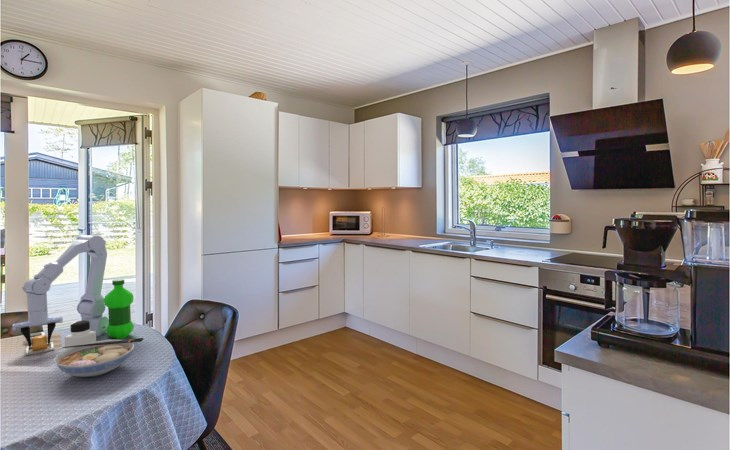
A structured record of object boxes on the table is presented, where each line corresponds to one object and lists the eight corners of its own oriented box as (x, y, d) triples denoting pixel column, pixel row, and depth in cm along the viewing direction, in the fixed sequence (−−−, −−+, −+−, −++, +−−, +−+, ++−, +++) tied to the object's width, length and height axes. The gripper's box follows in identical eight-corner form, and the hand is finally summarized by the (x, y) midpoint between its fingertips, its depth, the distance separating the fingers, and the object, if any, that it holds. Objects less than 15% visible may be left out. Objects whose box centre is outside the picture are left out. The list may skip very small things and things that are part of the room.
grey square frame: (53, 350, 146) (53, 348, 146) (25, 355, 141) (25, 353, 140) (53, 343, 152) (53, 342, 152) (26, 349, 147) (26, 347, 147)
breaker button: (40, 340, 156) (40, 334, 156) (29, 342, 154) (29, 336, 153) (40, 337, 158) (40, 332, 158) (30, 339, 156) (29, 333, 156)
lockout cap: (50, 347, 148) (49, 335, 148) (39, 352, 144) (38, 339, 144) (40, 347, 149) (39, 334, 148) (29, 352, 144) (28, 339, 144)
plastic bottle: (102, 342, 158) (99, 283, 156) (112, 333, 168) (110, 278, 166) (129, 340, 160) (127, 282, 158) (137, 332, 170) (135, 277, 169)
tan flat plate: (62, 352, 147) (61, 348, 147) (23, 360, 140) (23, 356, 140) (60, 336, 165) (60, 332, 165) (26, 342, 158) (26, 338, 157)
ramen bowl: (34, 393, 116) (33, 367, 116) (70, 362, 138) (69, 340, 138) (126, 383, 123) (125, 358, 122) (146, 355, 145) (146, 334, 144)
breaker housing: (44, 340, 156) (44, 335, 155) (25, 344, 152) (25, 339, 152) (44, 336, 160) (44, 331, 160) (25, 339, 156) (25, 335, 156)
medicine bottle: (97, 348, 151) (95, 319, 151) (82, 355, 144) (80, 324, 144) (80, 347, 152) (79, 318, 151) (64, 354, 145) (63, 324, 144)
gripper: (61, 304, 153) (63, 337, 154) (12, 310, 144) (14, 345, 144) (62, 308, 148) (63, 342, 148) (11, 315, 138) (13, 351, 139)
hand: (39, 344), depth 146 cm, fingers open, 5 cm apart
